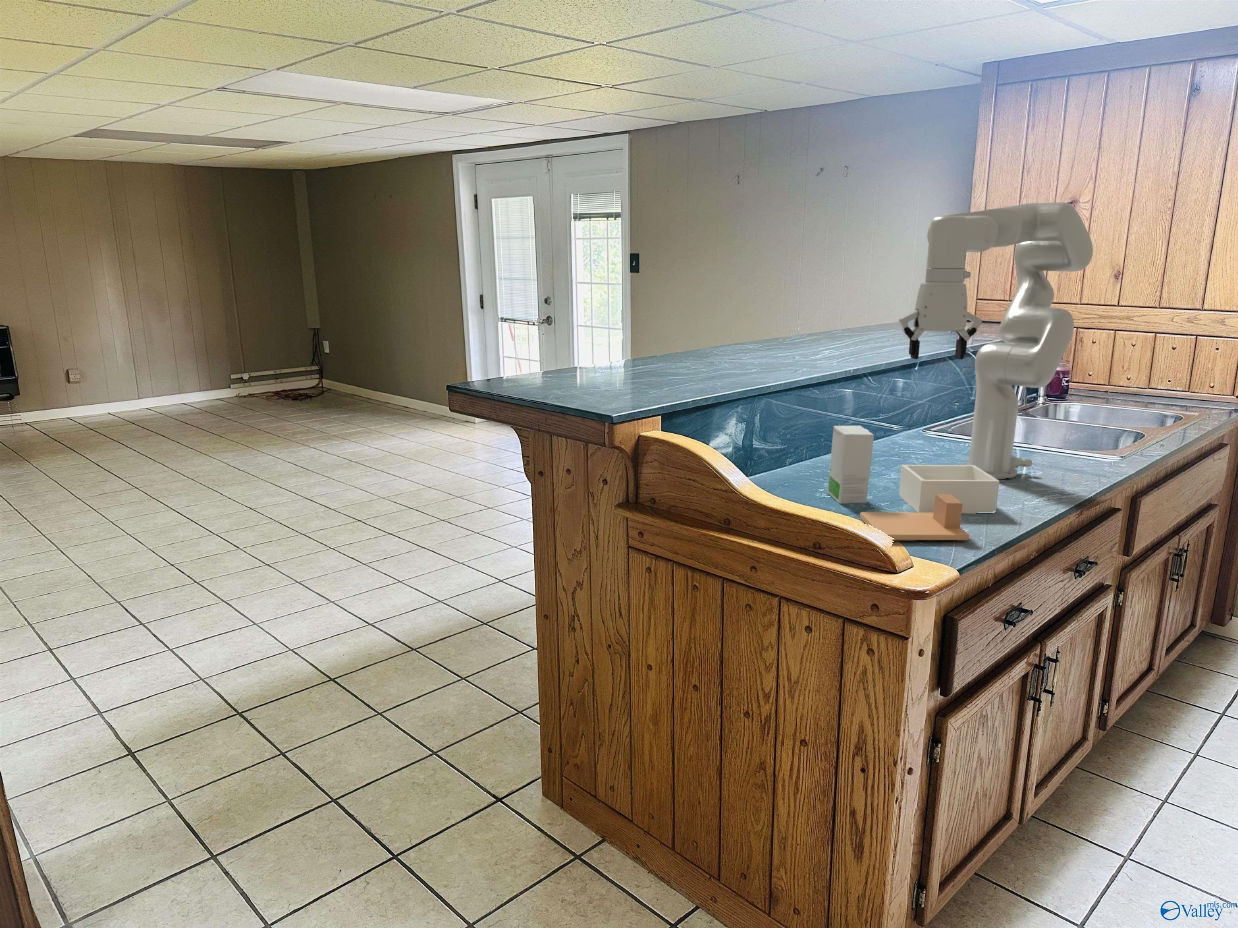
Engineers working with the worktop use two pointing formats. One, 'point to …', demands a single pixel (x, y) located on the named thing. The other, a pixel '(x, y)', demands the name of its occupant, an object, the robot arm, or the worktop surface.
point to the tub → (948, 487)
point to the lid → (922, 522)
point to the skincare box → (850, 464)
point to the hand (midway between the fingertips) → (936, 358)
